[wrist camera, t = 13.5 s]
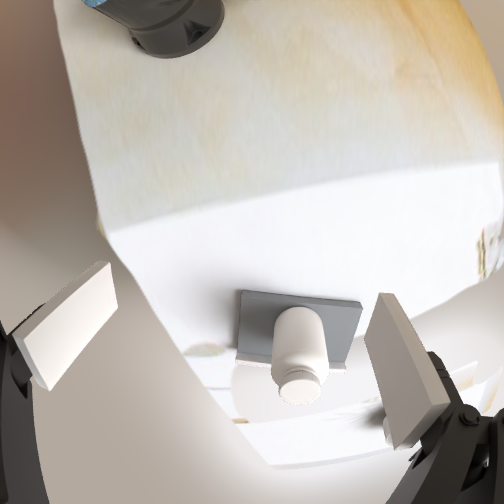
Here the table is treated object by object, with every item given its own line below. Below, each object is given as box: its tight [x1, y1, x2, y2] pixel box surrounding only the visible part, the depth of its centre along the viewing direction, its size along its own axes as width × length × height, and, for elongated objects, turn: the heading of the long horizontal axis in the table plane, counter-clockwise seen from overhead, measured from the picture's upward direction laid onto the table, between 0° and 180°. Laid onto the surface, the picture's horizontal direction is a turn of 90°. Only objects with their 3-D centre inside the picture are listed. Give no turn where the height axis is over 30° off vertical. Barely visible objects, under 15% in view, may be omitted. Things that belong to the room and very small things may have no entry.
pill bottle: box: [271, 307, 329, 405], centre depth 38 cm, size 8×8×15 cm
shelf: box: [235, 290, 363, 373], centre depth 46 cm, size 14×20×4 cm
